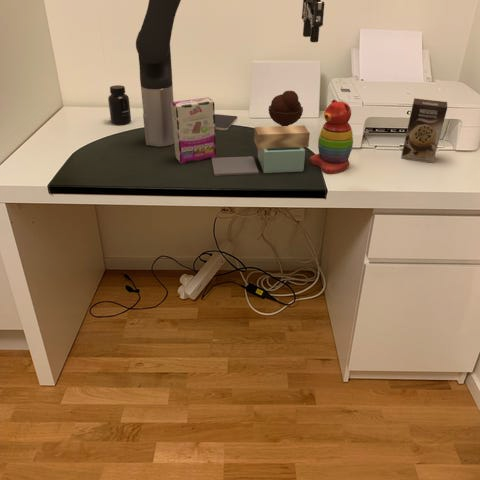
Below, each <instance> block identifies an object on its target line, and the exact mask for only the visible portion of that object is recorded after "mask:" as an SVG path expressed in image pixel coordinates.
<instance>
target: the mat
mask: <svg viewBox="0 0 480 480" xmlns="http://www.w3.org/2000/svg"><path fill="white" fill-rule="evenodd" d="M210 160H211V164H212V170H213V174H214V177H220V176H221V177H222V176H226V177H227V176H244V175H245V176H246V175H247V176H248V175H259V174H260V171H259V169H258V167H257V163H256V160H255V158H254V156H252V155H251V156H250V155H249V156H228V157H224V156H223V157H215V158H210Z"/></svg>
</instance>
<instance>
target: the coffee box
mask: <svg viewBox="0 0 480 480" xmlns="http://www.w3.org/2000/svg"><path fill="white" fill-rule="evenodd" d="M447 111H448V101H440V100H432V99H431V100H430V99H425V98H416V97H415V98H413V102H412V107H411V111H410V117H409V121H408V125H407V130H406V134H405V138H404V142H403V146H402V150H401V151H402V152H401V157H400V158H401V159H405V160H411V161H416V162H417V161H419V162H426V163H434V161H435V157H436V152H437V150H438V145H439V141H440V138H441V134H442V130H443V127H444V126H443V125H444V122H445V119H446V114H447Z"/></svg>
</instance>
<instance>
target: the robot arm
mask: <svg viewBox="0 0 480 480" xmlns="http://www.w3.org/2000/svg"><path fill="white" fill-rule="evenodd" d="M181 1H182V0H148V5H147V10H146V13H145V15H144V18H143V20H142V21H143V22H142V24H141V27H140V30H139V32H138V33H137V36H136V38H135V39H136V40H135V48H136V52H137V54H138V62H139V63H138V66H139V81H140V90H141V91H140V92H141V100H142V111H143V113H142V117H143V128H144V136H145V137H144V138H145V145H146V146H152V147H159V148H160V147H168V146H172V145H175V143H174V132H173V119H172V108H171V102H175V101H174V89H173V88H174V87H173V85H174V84H173V69H172V53H171V38H172V33H173V29H174V28H173V27H174V21H175V17H176V13H177V12H178V9H179V6H180V4H181ZM324 10H325V1H322V0H303V1H302V10H301V11H302V12H301V19H302V22H303V29H302V36H303V37H304V38H309V42H310V43H318V42H319V38H320V37H319V36H320V28H321V27H323V26H324V15H325V14H324V12H325V11H324Z"/></svg>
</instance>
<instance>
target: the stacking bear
mask: <svg viewBox="0 0 480 480" xmlns="http://www.w3.org/2000/svg"><path fill="white" fill-rule="evenodd" d="M323 115H324V117H323V118H324V119H325V120H324V121H325V123H323V126H322V128H321V130H320V134H319V136H318V144H317V147H318V153H317V154H313V155H311V156H310V158H309V159H308V162H309V163H310V164H311V165H314V166H318V167H319V168H320V169H321V172H323V173H324V174H329V175H333V174H338V173H342V172H344V171H345V170H347V169H349V167H350V161H349V158H350V156H351V153H352V149H353V145H354V137H353V134H354V133H353V129H352V127H351V124H350V123H349V121H350V120H351V116H352V109H351V107H350V104H349V103H346V102H345V101H338V100H336V99H333V100H332V101H331V103H330V104H329V105H328V106H327V107H326V108H325V110H324V113H323Z"/></svg>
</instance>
